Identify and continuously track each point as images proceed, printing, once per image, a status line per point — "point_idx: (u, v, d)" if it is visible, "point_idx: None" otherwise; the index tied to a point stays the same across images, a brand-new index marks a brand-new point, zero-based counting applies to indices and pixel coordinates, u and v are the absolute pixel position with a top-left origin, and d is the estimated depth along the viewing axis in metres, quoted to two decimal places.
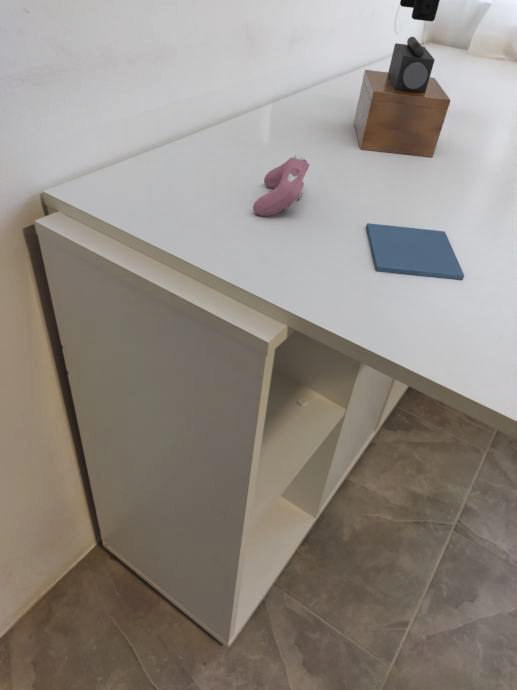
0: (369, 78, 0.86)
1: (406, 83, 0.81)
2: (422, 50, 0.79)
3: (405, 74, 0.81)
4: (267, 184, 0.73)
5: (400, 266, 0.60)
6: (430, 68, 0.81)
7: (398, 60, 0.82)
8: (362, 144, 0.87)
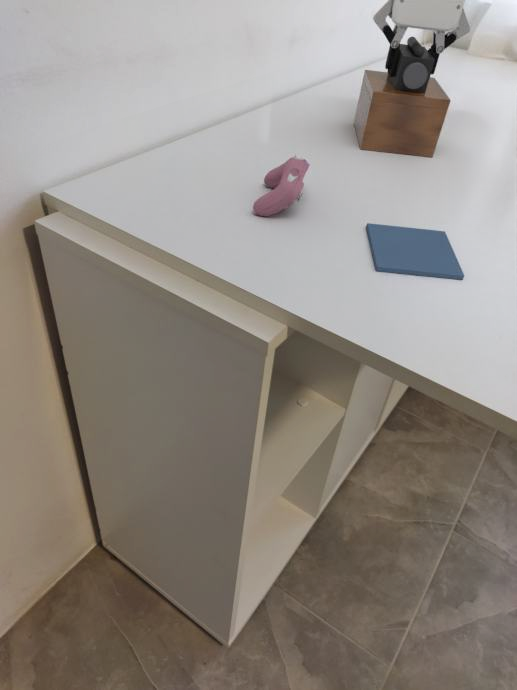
0: (369, 78, 0.86)
1: (406, 83, 0.81)
2: (422, 50, 0.79)
3: (405, 74, 0.81)
4: (267, 184, 0.73)
5: (400, 266, 0.60)
6: (430, 68, 0.81)
7: (398, 60, 0.82)
8: (362, 144, 0.87)
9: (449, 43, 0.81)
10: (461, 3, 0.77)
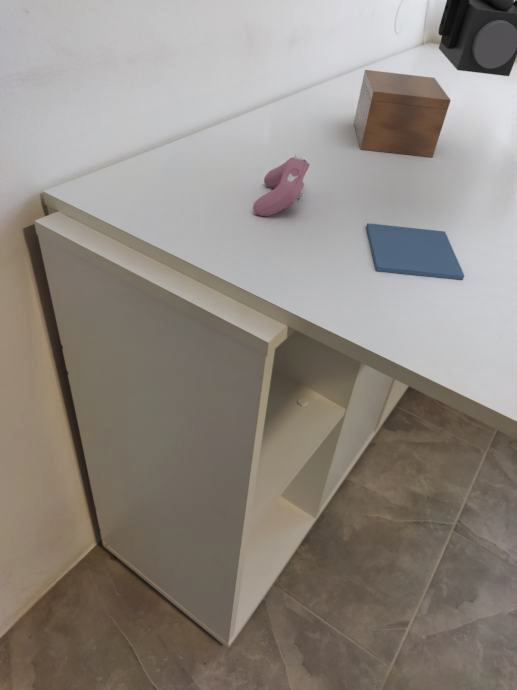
0: (369, 78, 0.86)
1: (479, 58, 0.47)
2: None
3: (478, 42, 0.46)
4: (267, 184, 0.73)
5: (400, 266, 0.60)
6: None
7: (464, 19, 0.47)
8: (362, 144, 0.87)
9: None
10: None
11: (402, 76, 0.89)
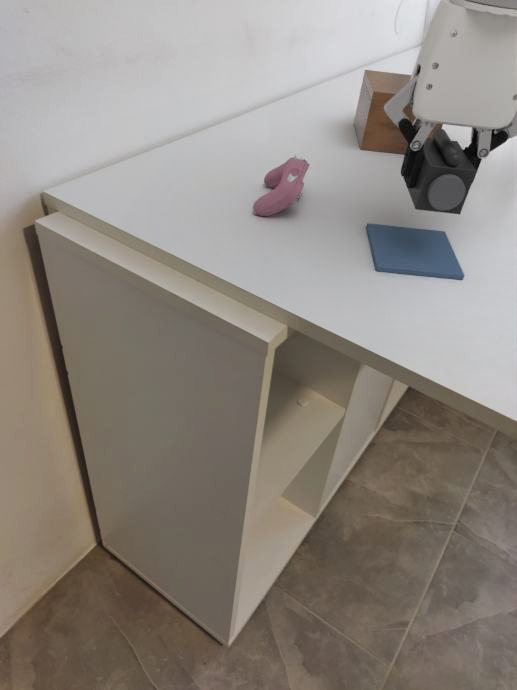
0: (369, 78, 0.86)
1: (433, 203, 0.55)
2: (458, 158, 0.53)
3: (432, 191, 0.54)
4: (267, 184, 0.73)
5: (400, 266, 0.60)
6: (469, 182, 0.54)
7: (421, 167, 0.56)
8: (362, 144, 0.87)
9: (497, 144, 0.55)
10: None
11: (402, 76, 0.89)
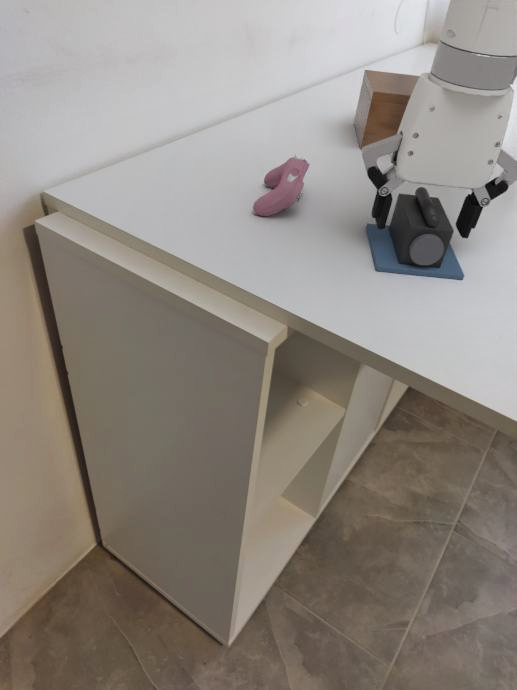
0: (369, 78, 0.86)
1: (414, 259, 0.59)
2: (437, 220, 0.57)
3: (413, 249, 0.58)
4: (267, 184, 0.73)
5: (400, 266, 0.60)
6: (447, 241, 0.58)
7: (403, 225, 0.60)
8: (362, 144, 0.87)
9: (498, 193, 0.58)
10: (495, 157, 0.54)
11: (402, 76, 0.89)
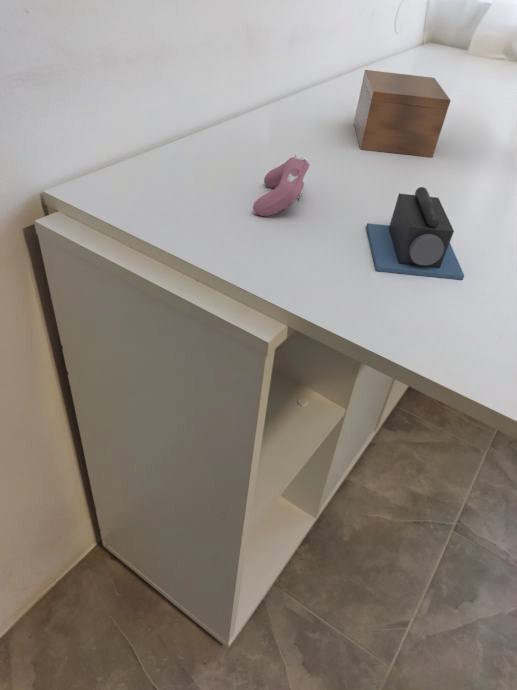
0: (369, 78, 0.86)
1: (414, 259, 0.59)
2: (437, 220, 0.57)
3: (413, 249, 0.58)
4: (267, 184, 0.73)
5: (400, 266, 0.60)
6: (447, 241, 0.58)
7: (403, 225, 0.60)
8: (362, 144, 0.87)
9: None
10: None
11: (402, 76, 0.89)
